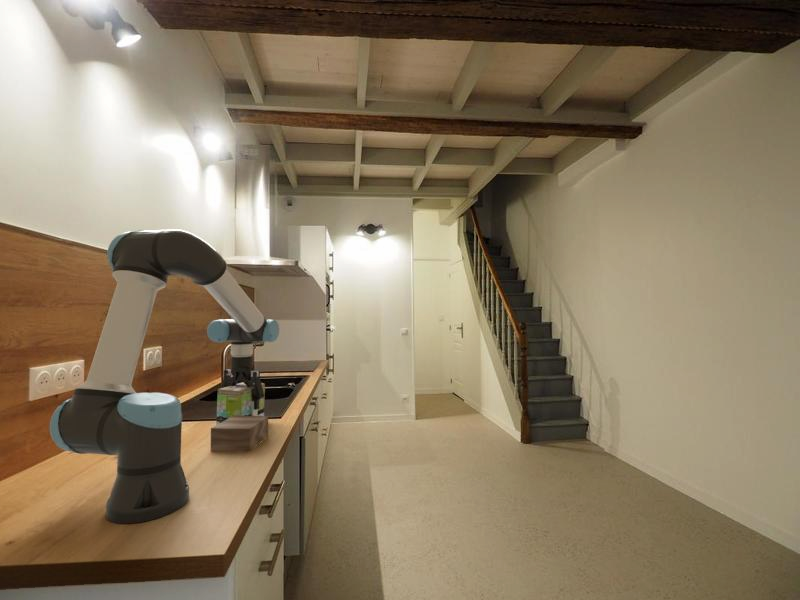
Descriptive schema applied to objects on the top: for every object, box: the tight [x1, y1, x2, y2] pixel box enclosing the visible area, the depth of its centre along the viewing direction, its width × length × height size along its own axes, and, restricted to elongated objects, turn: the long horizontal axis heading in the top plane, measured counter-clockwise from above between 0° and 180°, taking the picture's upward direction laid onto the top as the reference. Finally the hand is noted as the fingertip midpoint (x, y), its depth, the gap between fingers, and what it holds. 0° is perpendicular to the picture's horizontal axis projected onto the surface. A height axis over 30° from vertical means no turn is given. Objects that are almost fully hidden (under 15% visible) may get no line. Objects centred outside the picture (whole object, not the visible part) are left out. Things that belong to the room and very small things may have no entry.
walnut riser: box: [210, 415, 269, 452], centre depth 125 cm, size 14×12×7 cm
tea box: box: [215, 382, 266, 426], centre depth 143 cm, size 15×10×15 cm
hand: (241, 417), depth 143 cm, fingers closed on tea box, 10 cm apart
